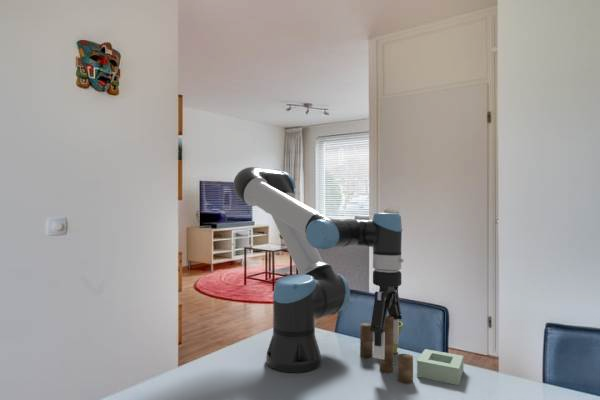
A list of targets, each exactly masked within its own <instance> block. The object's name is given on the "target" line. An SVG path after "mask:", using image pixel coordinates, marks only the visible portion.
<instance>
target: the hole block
mask: <svg viewBox="0 0 600 400" xmlns="http://www.w3.org/2000/svg"><path fill="white" fill-rule="evenodd" d="M463 373H464V355H461V354H455V353H449V352H446V351H445V352H444V351H439V350H434V349H433V350H432V349H427V348H425V349H424V350H423V351H422V352H421V354H420V356H419V357H418V359H417V360H416V377H418V378H423V379H426V380H427V379H428V380H433V381H437V382H442V383H446V384H452V385H456V386H459V385H460V382H461V380H462V378H463V377H462V376H463Z"/></svg>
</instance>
